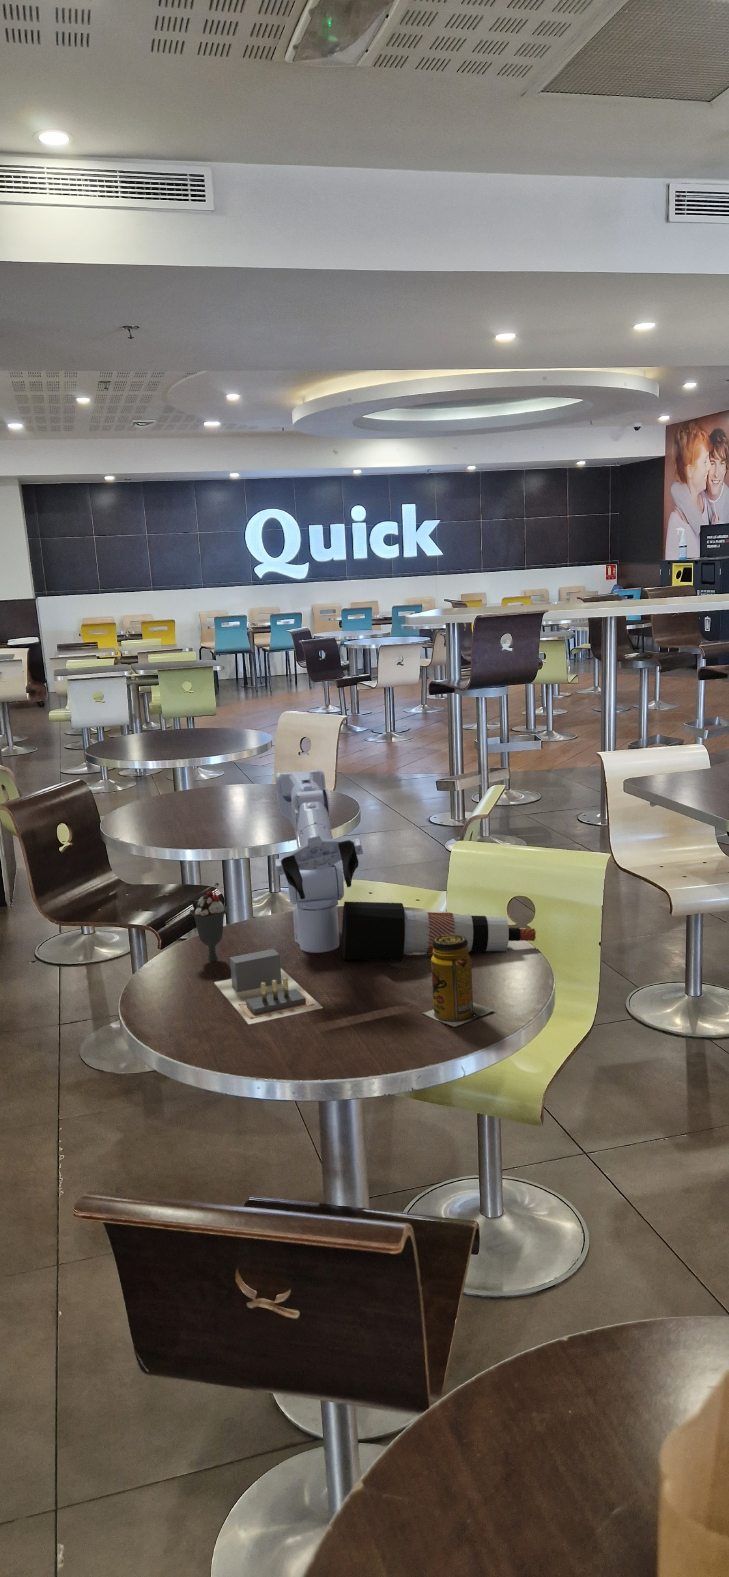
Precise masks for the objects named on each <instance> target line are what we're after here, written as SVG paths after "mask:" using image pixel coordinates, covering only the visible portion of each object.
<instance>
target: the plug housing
mask: <svg viewBox="0 0 729 1577" xmlns="http://www.w3.org/2000/svg"><path fill="white" fill-rule="evenodd" d="M280 956H281V955H280V953H279V952H277V951H276V949H274V948H270V949H266V950H261V951H256V952H250V953H245V954H241V955H235V956H230V957H229V965H230V976H231V977H230V979H232V987H233V988H234V989H235V990H236V991H237V992H242V991H247V990H251V989H256V988H261V982H266V986H270V985H272V980H277V984H280V983H282V981H281V969H282V968H281V958H280Z"/></svg>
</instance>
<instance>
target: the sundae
mask: <svg viewBox="0 0 729 1577" xmlns="http://www.w3.org/2000/svg"><path fill="white" fill-rule="evenodd" d="M218 886H220V883H219V882H215V884H214V885H213V887H211V890H208V891H207V892H206V894H205V895H204V894H203V895H202V896H200V898H199V899H198V900H197V899H193V898H191V899H190V902H191V905H192V908H193V909H190V910H189V914H190V915H192V916H193V917H194V921H195V925H196V929H197V934H198V938H199V941H201V943H202V944H204V945H205V946H207V948H208V957H207V961H209V962H215V961H218V960H219V957H218V956H217V953H216V952H217V951H216V946H217V945H218V944H219V943H220V942H221V940H222V939H223V935H224V934H223V933H224V917H225V914H226V913H228V907H227V905H225V904H223V902H222V901H220V900H219V899H220V896H219V895H217V894H216V888H217V887H218Z"/></svg>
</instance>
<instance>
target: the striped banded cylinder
mask: <svg viewBox="0 0 729 1577" xmlns="http://www.w3.org/2000/svg"><path fill="white" fill-rule="evenodd" d="M341 924H342V927H341V951H342V952H341V954H342V960H344V961H345V960H346V961H347V960H349V961H352V960H353V961H354V960H355V961H360V960H361V961H390V962H391V961H395V962H396V961H397V962H398V961H399V962H400V961H402V960H403V957H404V954H415V953H416V954H418V953H419V954H420V953H421V954H426V955H427V954H429V955H430V954H433V940H434V939H435V938H436V937H439V936H442V935H461V936H463V937H465V938H466V939H467V941H468V945H467V946H468V953H471V952H483V953H484V952H506V951H508V946H509V942H520V941H521V942H522V941H525V942H527V941H529V942H531V941H532V942H535V941H536V933H537V931H536V929H535V928H520V927H509V921H508V919H507V917H506V916H486V915H471V914H459V913H458V914H454V913H452V912H434V911H433V912H432V911H429V912H428V911H414V910H405V906H404V904H403V903H402V902H379V901H377V902H376V901H372V902H371V901H344V902H343V909H342V922H341Z"/></svg>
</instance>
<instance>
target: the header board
mask: <svg viewBox="0 0 729 1577" xmlns="http://www.w3.org/2000/svg"><path fill="white" fill-rule="evenodd" d="M281 981H282V983H280V984H277V980H272V985H270V986H266V982H261V988H256V989H251V990H247V991H242V992H237V991H236V990H235V989H234V988H233V987H232V979H231V978H229V979H228V978H227V979H224V980H223V979H222V980H218V981H214V982H213V984H214V985H215V986H216V987H217V988H218V990H219V991H220V992H221V993H222V994H223V995H224V997H225V998H226V999H227V1000H228V1002H229V1003H230V1004H231V1005H232V1007H233V1008H234V1009H235V1010H236V1012H238V1013H239V1015H240V1016H241V1017H242V1018H243V1020H244V1021H245V1022H246V1023H247V1024H248V1025H252V1024H257V1023H262V1022H266V1021H270V1020H271V1021H272V1020H276V1019H280V1018H284V1017H288V1016H289V1017H290V1016H293V1015H299V1014H302V1013H308V1012H311V1011H315V1010H316V1011H317V1010H321V1009H324V1007H323V1006H322V1005H321V1004H320V1003H319V1002H318V1001H317V1000H316V999H314V998H313V997H312V996H311V995H310V994H309V993H308V992H307V991H306V990H305V989H304V988H303V987H302V986H300V985H299V983H298V982H296V981H295V980H294V979H293V978H292V977H291V976H290V975H289V974H288V973H287V972H286V971H285V970H284V969H283V968H281Z"/></svg>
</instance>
